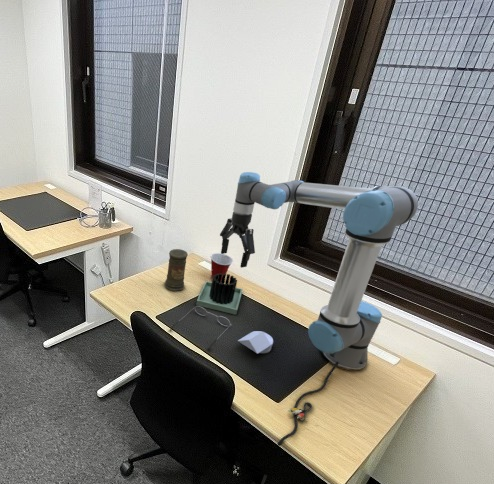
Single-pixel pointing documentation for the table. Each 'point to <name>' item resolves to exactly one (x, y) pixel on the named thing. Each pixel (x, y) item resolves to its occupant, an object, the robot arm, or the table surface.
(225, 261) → the plastic cup
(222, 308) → the desk tray
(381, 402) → the table surface
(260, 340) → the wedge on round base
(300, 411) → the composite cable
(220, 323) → the eyeglasses
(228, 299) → the pen pot
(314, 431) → the table surface
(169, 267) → the container
